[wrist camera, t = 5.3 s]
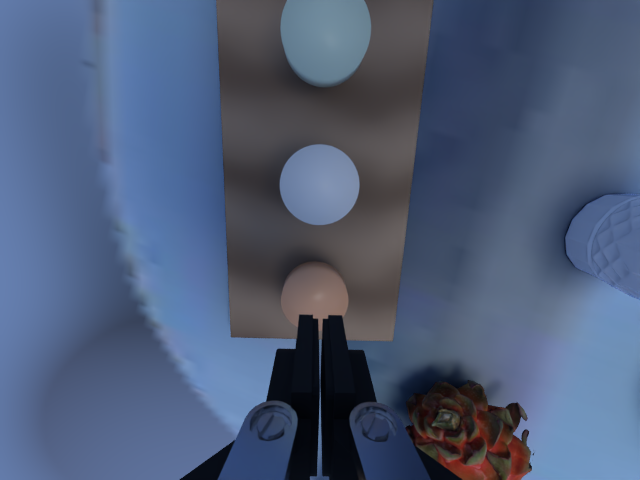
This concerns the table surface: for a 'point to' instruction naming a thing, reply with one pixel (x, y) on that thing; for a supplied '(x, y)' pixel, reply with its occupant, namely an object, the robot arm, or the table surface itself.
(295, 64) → the sage button
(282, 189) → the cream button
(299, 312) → the terracotta button
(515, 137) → the table surface
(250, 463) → the robot arm
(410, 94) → the button panel
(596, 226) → the white cup
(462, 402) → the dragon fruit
